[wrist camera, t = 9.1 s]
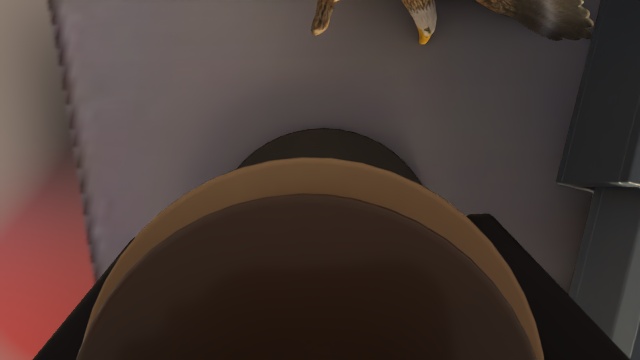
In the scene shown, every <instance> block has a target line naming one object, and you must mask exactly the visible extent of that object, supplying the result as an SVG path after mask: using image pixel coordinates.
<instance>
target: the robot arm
mask: <svg viewBox="0 0 640 360" xmlns="http://www.w3.org/2000/svg"><path fill="white" fill-rule="evenodd" d="M466 217H468V218H469V219H470V220H471V221H472V222H473V223H474V224H475V225H476V226H477V227H478V228H479V229H480V230H481V232H482V233H483V234H484V235H485V236H486V237H487V238H488V239H489V240H490V241H491V242H492V243H493V245H494V246H495V247H496V249H497V250H498V252H499V253H500V254H501V256H502V257H503V258H504V260H505V261H506V262H507V264H508V265H509V267H510V268H511V270H512V272H513V274H514V276H515V277H516V279H517V281H518V283H519V285H520V286H521V288H522V290H523V292H524V294H525V296H526V299H527V301H528V304H529V306H530V309H531V311H532V314H533V317H534V319H535V322H536V325H537V329H538V333H539V337H540V341H541V345H542V349H543V353H544V360H630V358H629V357H628V356H627V355H626V354H625V353H624V352H623V351H622V350H621V349H620V348H619V347H618V346H617V345H616V344H615V343H614V342H613V341H612V340H611V339H610V338H609V337H608V336H607V335H606V333H605V332H604V331H603V330H602V329H601V328H600V327H599V326H598V325H597V324H596V323H595V322H594V321H593V320H592V319H591V318H590V317H589V316H588V315H587V314H586V313H585V312H584V311H583V310H582V309H581V307H580V306H579V305H578V304H577V303H576V302H575V301H574V300H573V299H572V298H571V297H570V296H569V295H568V294H567V293H566V292H565V291H564V290H563V289H562V288H561V287H560V286H559V285H558V284H557V282H556V281H555V280H554V279H553V278H552V277H551V276H550V275H549V274H548V273H547V272H546V271H545V270H544V269H543V268H542V267H541V266H540V265H539V264H538V263H537V262H536V261H535V260H534V259H533V258H532V256H531V255H530V254H529V253H528V252H527V251H526V250H525V249H524V248H523V247H522V246H521V245H520V244H519V243H518V242H517V241H516V240H515V239H514V238H513V237H512V236H511V235H510V234H509V233H508V231H507V230H506V229H505V228H504V227H503V226H502V225H501V224H500V223H499V222H498V221H497V220H496V219H495V218H494V217H493V216H492V215H490V214H487V213H484V214H469V215H467V216H466ZM134 238H135V237H134ZM134 238H133V239H132V240H131V241H130V242H129V243H128V245H127V246H126V247H125V248H124V249H123V251H122V252H121V253H120V254H119V255H118V257H117V258H116V259H115V260H114V262H113V263H112V264H111V265H110V266H109V268H108V269H107V270H106V271H105V272H104V274H103V275H102V276H101V277H100V279H99V280H98V281H97V282H96V283H95V285H94V286H93V287H92V289H90V291H89V292H88V293H87V294H86V295H85V297H84V298H83V299H82V300H81V302H80V303H79V304H78V305H77V306H76V308H75V309H74V310H73V311H72V312H71V314H70V315H69V316H68V317H67V319H66V320H65V321H64V322H63V323H62V325H61V326H60V327H59V328H58V329H57V331H56V332H55V333H54V334H53V336H52V337H51V338H50V339H49V340H48V342H47V343H46V344H45V345H44V346H43V348H42V349H41V350H40V351H39V352H38V354H37V355H36V356H35V357H34V359H33V360H76V359H77V356H78V353H79V350H80V348H81V346H82V343H83V339H84V335H85V332H86V329H87V325H88V322H89V319H90V315H91V312H92V309H93V307H94V304H95V302H96V300H97V298H98V295H99V293H100V291H101V289H102V286H103V284H104V282H105V280H106V279H107V277H108V275H109V274H110V272H111V270H112V269H113V267H114V266H115V264H116V262H117V261H118V259H119V257H120V256H121V255H122V253H123V252H124V251H125V250H126V248H127V247H128V246H129V245H130V243H131V242H132V241H133V240H134Z"/></svg>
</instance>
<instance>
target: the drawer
mask: <svg viewBox="0 0 640 360" xmlns="http://www.w3.org/2000/svg"><path fill="white" fill-rule="evenodd" d="M568 295H569V296H570V297H571V298H572V299H573V300H574V301H575V302H576V303H577V304H578V305H579V306H580V307H581V309H582V310H583V311H584V312H585V313H586V314H587V315H588V316H589V317H590V318H591V319H592V320H593V321H594V322H595V323H596V324H597V325H598V326H599V327H600V328H601V329H602V330H603V331H604V332H605V333H606V335H607V336H608V337H609V338H610V339H611V340H612V341H613V342H614V343H615V344H616V345H617V346H618V347H619V348H620V349H621V350H622V351H623V352H624V353H625V354H626V355H627V356H628V357H629V358H630V360H640V188H638V187H595V189H594V193H593V197H592V201H591V205H590V209H589V213H588V217H587V221H586V225H585V229H584V233H583V237H582V241H581V245H580V249H579V253H578V257H577V261H576V265H575V269H574V273H573V277H572V281H571V285H570V289H569V293H568Z"/></svg>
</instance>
